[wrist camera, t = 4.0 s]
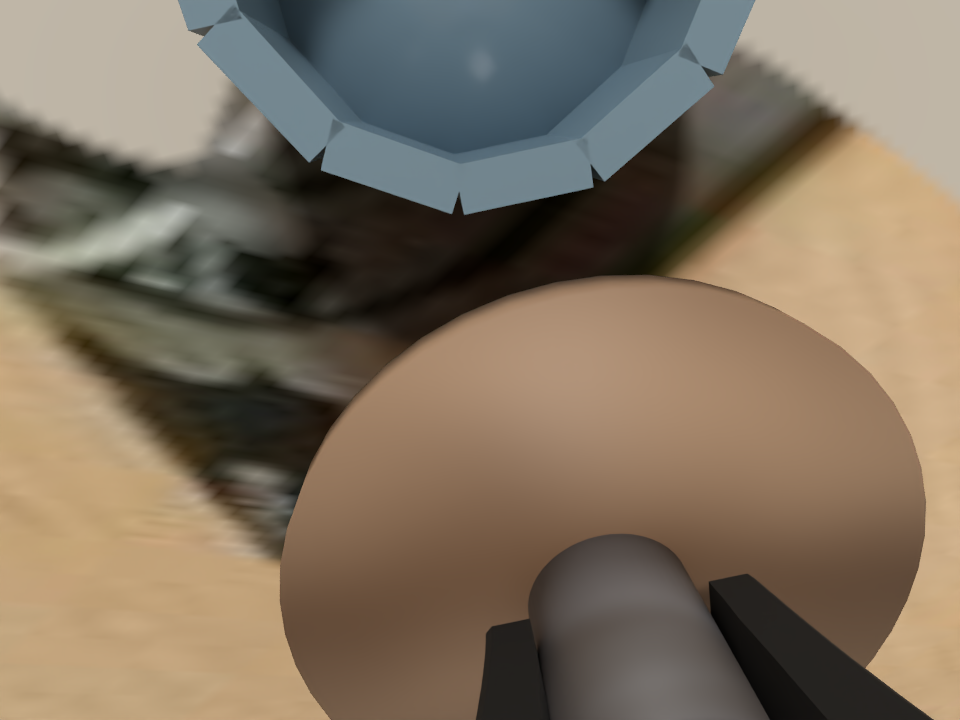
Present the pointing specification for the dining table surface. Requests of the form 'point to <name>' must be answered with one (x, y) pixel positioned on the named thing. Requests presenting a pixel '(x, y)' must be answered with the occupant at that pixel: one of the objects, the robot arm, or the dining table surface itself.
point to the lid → (597, 504)
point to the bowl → (470, 85)
